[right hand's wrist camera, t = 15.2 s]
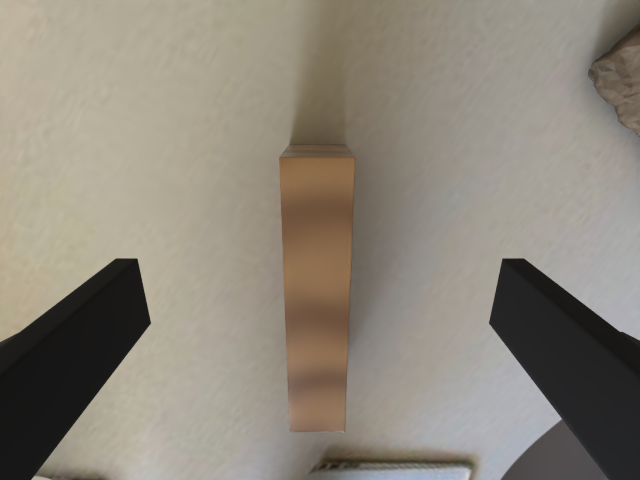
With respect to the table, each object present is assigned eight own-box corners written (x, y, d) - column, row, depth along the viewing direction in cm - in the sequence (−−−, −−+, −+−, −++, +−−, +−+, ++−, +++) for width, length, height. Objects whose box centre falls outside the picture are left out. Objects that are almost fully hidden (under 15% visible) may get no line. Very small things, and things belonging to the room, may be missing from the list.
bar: (288, 144, 34) (279, 157, 26) (346, 144, 34) (355, 157, 26) (294, 369, 44) (289, 432, 35) (339, 369, 44) (344, 432, 35)
